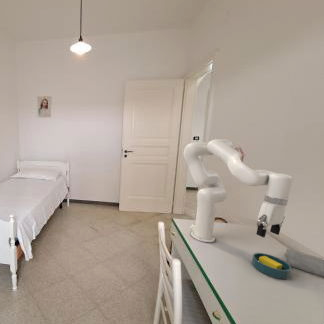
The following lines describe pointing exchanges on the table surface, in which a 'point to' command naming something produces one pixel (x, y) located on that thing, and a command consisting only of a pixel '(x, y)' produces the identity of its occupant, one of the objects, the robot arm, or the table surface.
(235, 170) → the robot arm
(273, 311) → the table surface
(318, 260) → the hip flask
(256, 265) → the bowl
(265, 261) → the sponge
